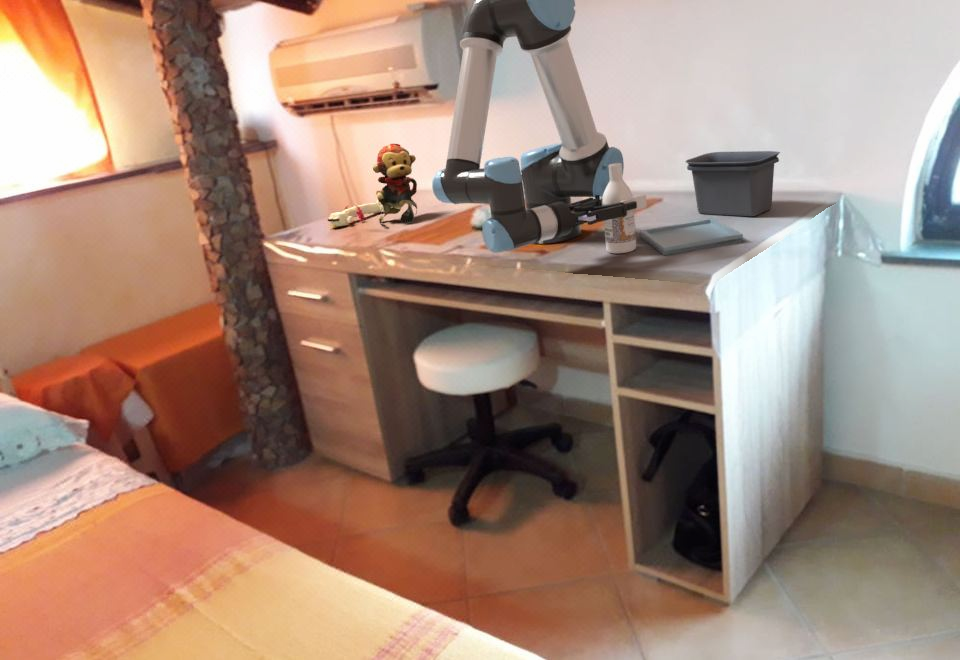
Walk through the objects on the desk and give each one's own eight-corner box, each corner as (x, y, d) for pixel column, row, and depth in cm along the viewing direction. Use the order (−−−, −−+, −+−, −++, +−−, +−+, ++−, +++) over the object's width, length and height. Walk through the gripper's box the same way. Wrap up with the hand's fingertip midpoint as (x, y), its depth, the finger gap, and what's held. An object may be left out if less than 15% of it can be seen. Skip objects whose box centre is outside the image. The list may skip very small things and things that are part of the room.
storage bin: (682, 216, 204) (679, 161, 199) (716, 201, 213) (713, 149, 208) (757, 221, 188) (756, 162, 183) (790, 205, 197) (789, 148, 192)
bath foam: (622, 255, 178) (616, 167, 171) (600, 252, 183) (593, 166, 176) (642, 247, 182) (637, 161, 175) (619, 244, 187) (613, 160, 180)
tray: (640, 237, 190) (640, 230, 189) (712, 225, 191) (712, 218, 190) (664, 255, 173) (663, 247, 173) (742, 241, 174) (742, 234, 173)
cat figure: (375, 214, 277) (321, 227, 259) (372, 189, 274) (316, 201, 256) (395, 215, 271) (340, 228, 253) (392, 189, 268) (336, 201, 250)
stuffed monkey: (362, 223, 250) (359, 143, 247) (401, 222, 262) (399, 146, 259) (393, 223, 240) (390, 139, 237) (432, 222, 252) (430, 143, 249)
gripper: (530, 231, 182) (611, 209, 190) (575, 245, 165) (663, 220, 173) (526, 199, 179) (609, 179, 188) (571, 210, 162) (661, 187, 170)
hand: (635, 199), depth 180 cm, fingers closed on bath foam, 7 cm apart
